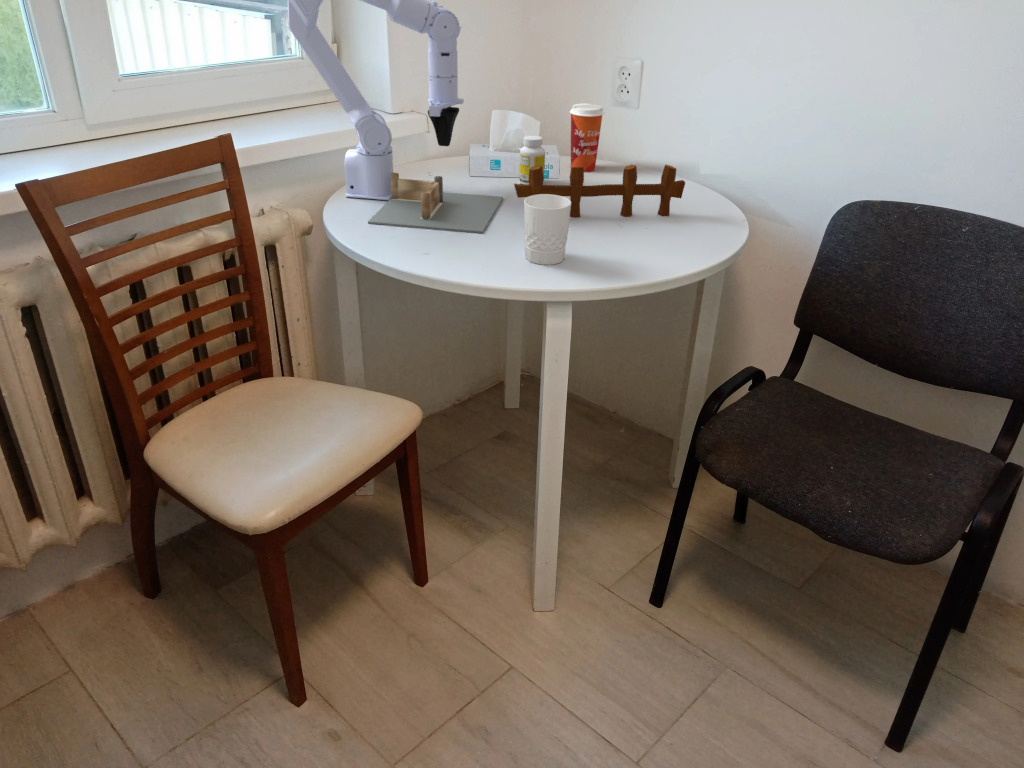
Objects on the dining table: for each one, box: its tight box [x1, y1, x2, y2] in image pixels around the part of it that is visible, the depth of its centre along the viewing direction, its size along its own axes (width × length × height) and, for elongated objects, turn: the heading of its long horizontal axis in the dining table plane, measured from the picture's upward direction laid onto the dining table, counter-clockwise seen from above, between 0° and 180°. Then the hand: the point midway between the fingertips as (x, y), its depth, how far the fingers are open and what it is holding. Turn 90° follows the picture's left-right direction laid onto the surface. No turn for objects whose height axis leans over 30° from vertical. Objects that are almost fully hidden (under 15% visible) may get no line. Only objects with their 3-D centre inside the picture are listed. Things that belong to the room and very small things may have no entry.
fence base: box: [391, 172, 444, 203], centre depth 159 cm, size 11×2×5 cm, turn 80°
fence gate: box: [421, 182, 440, 219], centre depth 153 cm, size 10×2×5 cm, turn 170°
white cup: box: [523, 194, 571, 266], centre depth 134 cm, size 8×8×10 cm
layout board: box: [367, 191, 504, 235], centre depth 156 cm, size 22×21×1 cm
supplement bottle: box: [519, 135, 546, 185], centre depth 171 cm, size 5×5×10 cm
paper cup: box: [569, 102, 605, 173], centre depth 181 cm, size 8×8×14 cm
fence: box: [513, 164, 686, 219], centre depth 154 cm, size 34×3×10 cm, turn 97°
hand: (444, 145), depth 163 cm, fingers closed
